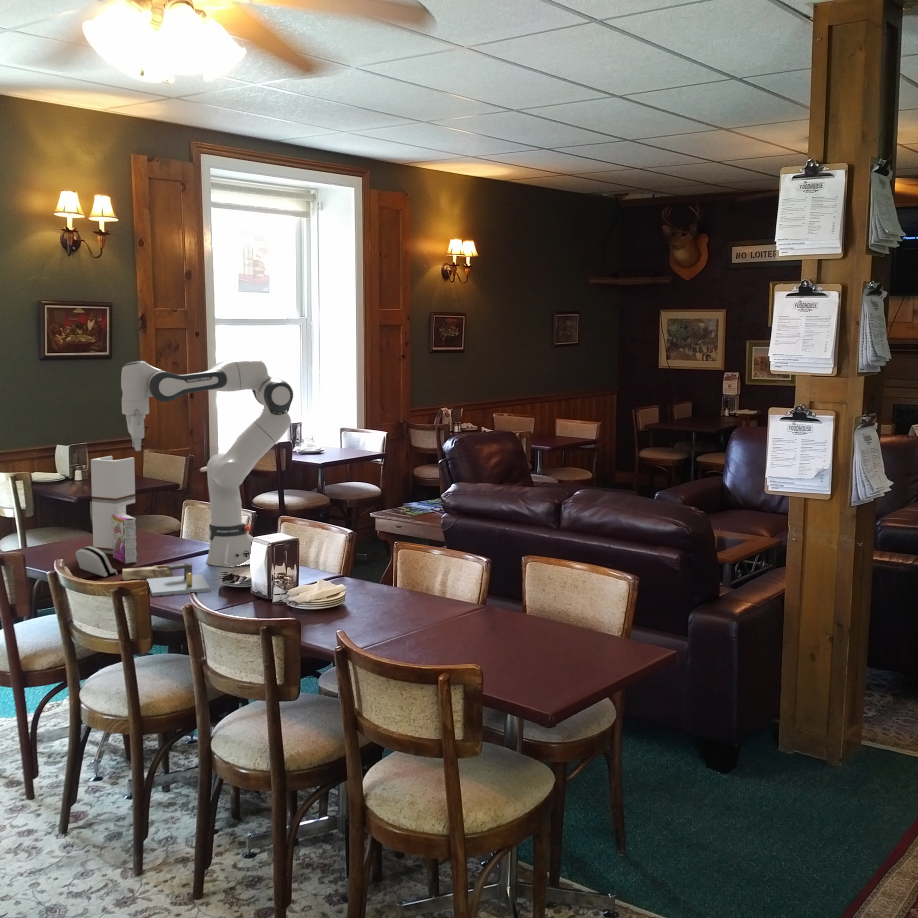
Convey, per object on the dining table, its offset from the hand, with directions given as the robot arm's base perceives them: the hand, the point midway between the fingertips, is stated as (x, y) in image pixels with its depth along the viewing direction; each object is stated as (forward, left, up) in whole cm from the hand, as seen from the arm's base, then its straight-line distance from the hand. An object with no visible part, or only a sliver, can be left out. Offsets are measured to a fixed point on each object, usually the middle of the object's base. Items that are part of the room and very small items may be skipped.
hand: (136, 448), depth 341 cm
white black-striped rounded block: (+14, -2, -43) cm, 45 cm away
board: (-9, +27, -43) cm, 51 cm away
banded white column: (+6, -34, -43) cm, 55 cm away
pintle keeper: (-11, +26, -43) cm, 51 cm away
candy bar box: (+4, -16, -43) cm, 46 cm away
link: (-1, +12, -43) cm, 44 cm away
